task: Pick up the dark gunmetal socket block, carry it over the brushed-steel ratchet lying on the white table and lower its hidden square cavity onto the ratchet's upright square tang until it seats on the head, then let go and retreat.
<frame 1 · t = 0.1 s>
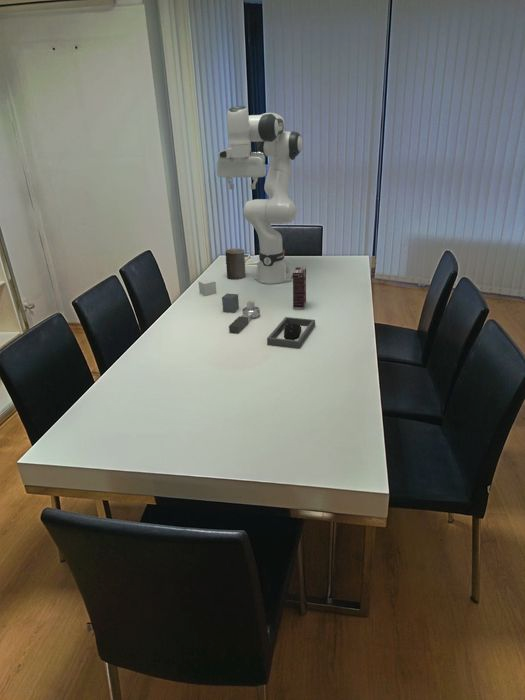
hand: (242, 189, 197), 48 cm above the table, fingers open, 8 cm apart
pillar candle: (236, 277, 251), on the table
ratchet: (251, 316, 201), on the table
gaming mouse: (292, 336, 182), on the table
gray rectangular frame: (292, 334, 182), on the table
supplement box: (299, 306, 209), on the table
socket: (231, 310, 208), on the table
adhesive note: (208, 293, 230), on the table
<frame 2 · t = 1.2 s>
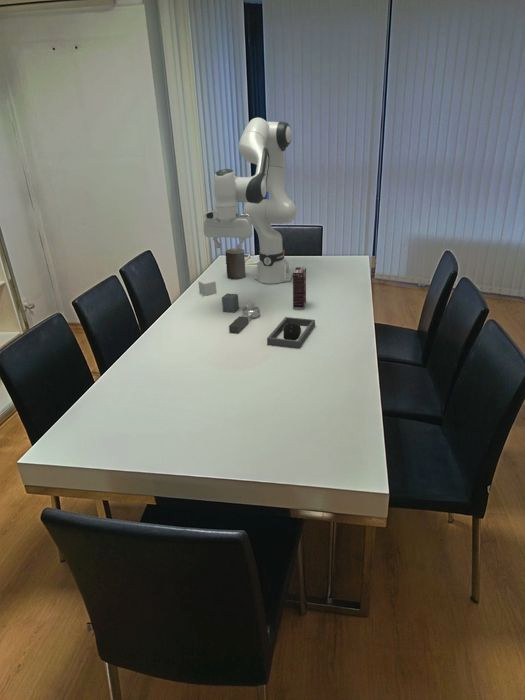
hand: (228, 248, 198), 26 cm above the table, fingers open, 8 cm apart
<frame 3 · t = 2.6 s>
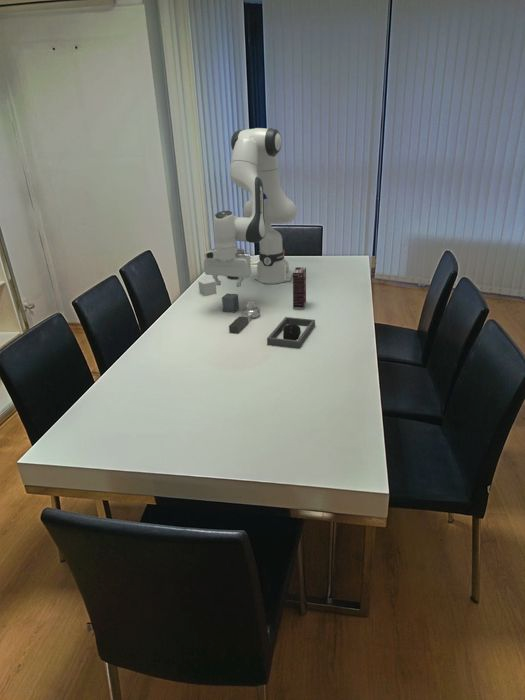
hand: (228, 285, 203), 11 cm above the table, fingers open, 8 cm apart
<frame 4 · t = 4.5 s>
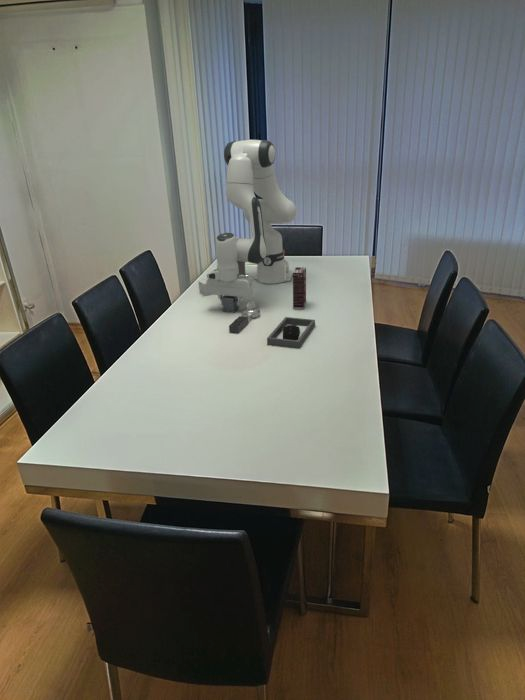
hand: (230, 305, 207), 2 cm above the table, fingers closed on socket, 5 cm apart
socket: (231, 310, 208), on the table, touching gripper
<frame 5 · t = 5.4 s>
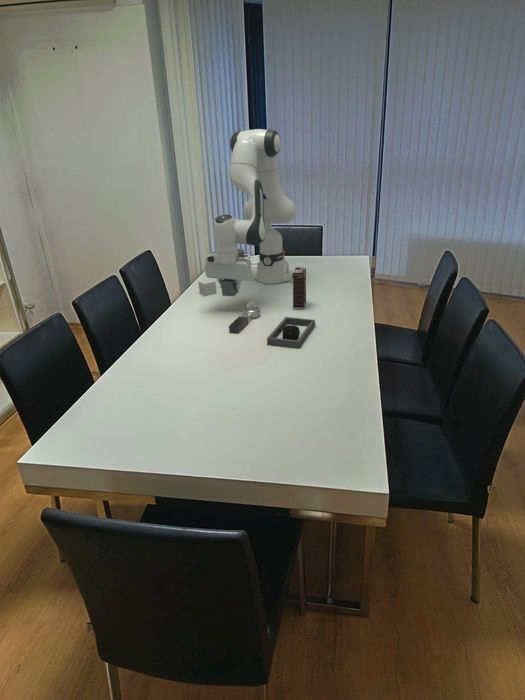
hand: (230, 288, 204), 9 cm above the table, fingers closed on socket, 5 cm apart
socket: (230, 293, 205), point 7 cm above the table, touching gripper
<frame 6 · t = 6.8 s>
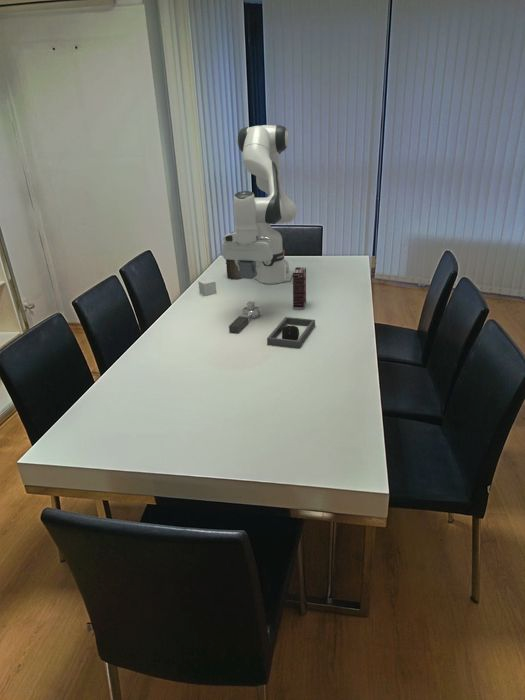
hand: (248, 271, 192), 19 cm above the table, fingers closed on socket, 5 cm apart
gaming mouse: (290, 338, 180), on the table, touching gray rectangular frame
socket: (248, 276, 193), point 17 cm above the table, touching gripper
everything else where it was.
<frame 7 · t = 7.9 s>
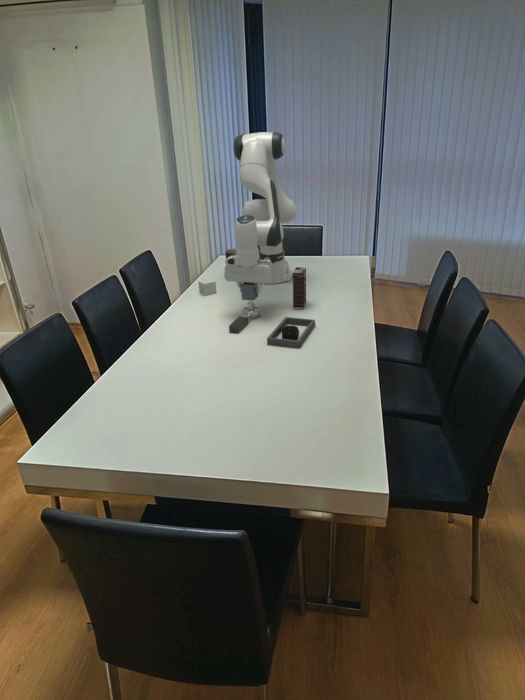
hand: (250, 292, 196), 10 cm above the table, fingers closed on socket, 5 cm apart
socket: (250, 298, 197), point 8 cm above the table, touching gripper
everything else where it was.
when the fingers open (6 cm above the table, at t = 9.6 s): socket stays where it is, resting on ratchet.
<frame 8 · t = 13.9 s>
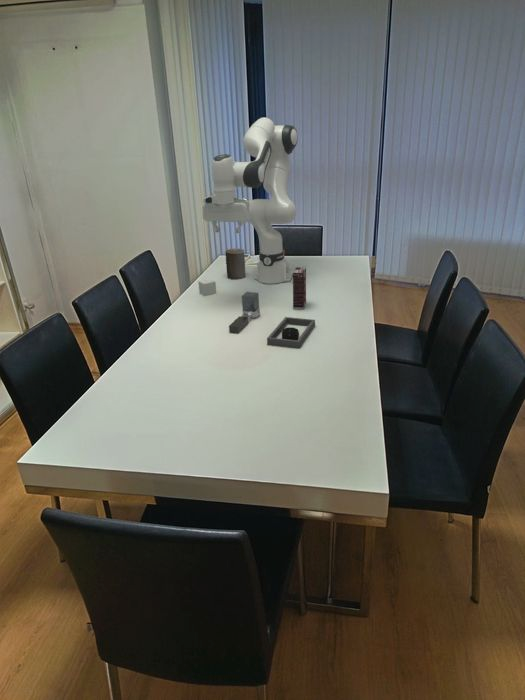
hand: (227, 232, 203), 31 cm above the table, fingers open, 8 cm apart
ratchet: (251, 316, 201), on the table, touching socket
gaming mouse: (289, 340, 178), on the table
socket: (251, 309, 199), point 3 cm above the table, touching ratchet
everything else where it was.
at the end: socket 0.0 cm off-centre on the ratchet, point 3.0 cm above the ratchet's base; socket tilted 0°; the gripper is holding nothing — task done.
